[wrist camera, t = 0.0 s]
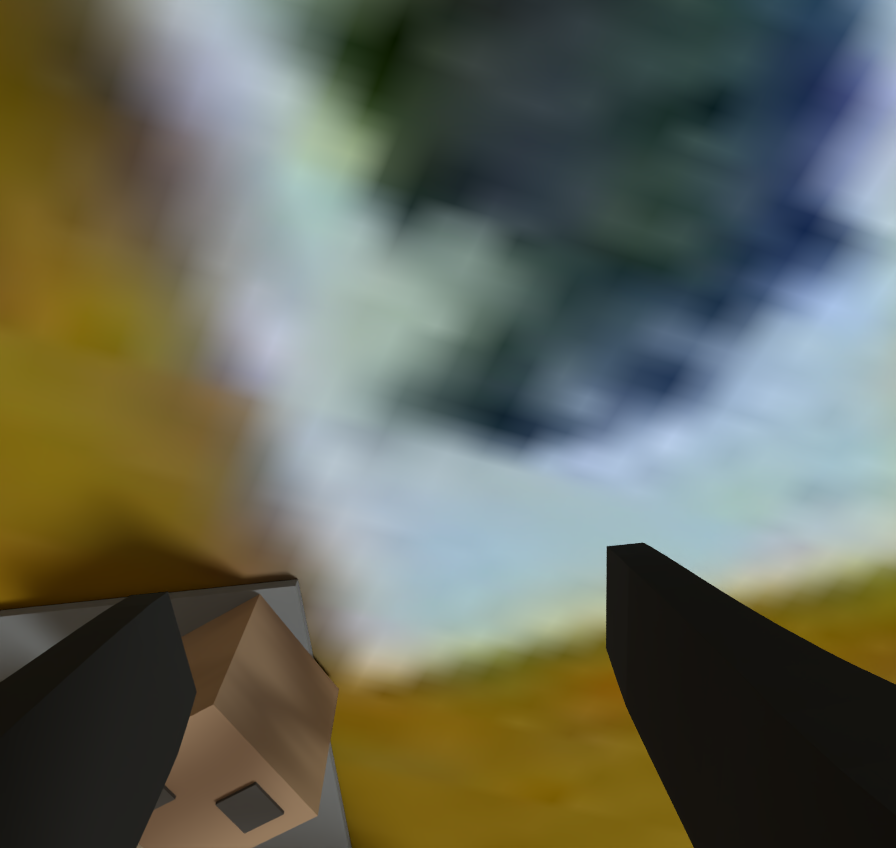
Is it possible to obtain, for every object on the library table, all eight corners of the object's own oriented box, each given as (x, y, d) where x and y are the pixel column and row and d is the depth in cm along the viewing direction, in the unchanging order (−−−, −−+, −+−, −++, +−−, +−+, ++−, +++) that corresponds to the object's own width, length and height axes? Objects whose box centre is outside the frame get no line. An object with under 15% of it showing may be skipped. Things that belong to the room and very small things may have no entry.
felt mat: (355, 868, 26) (354, 877, 25) (-56, 915, 25) (-64, 926, 25) (297, 579, 21) (295, 585, 20) (-214, 632, 20) (-227, 640, 20)
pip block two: (338, 689, 22) (316, 819, 17) (230, 744, 23) (180, 885, 18) (260, 594, 20) (211, 707, 16) (145, 656, 21) (65, 784, 16)
